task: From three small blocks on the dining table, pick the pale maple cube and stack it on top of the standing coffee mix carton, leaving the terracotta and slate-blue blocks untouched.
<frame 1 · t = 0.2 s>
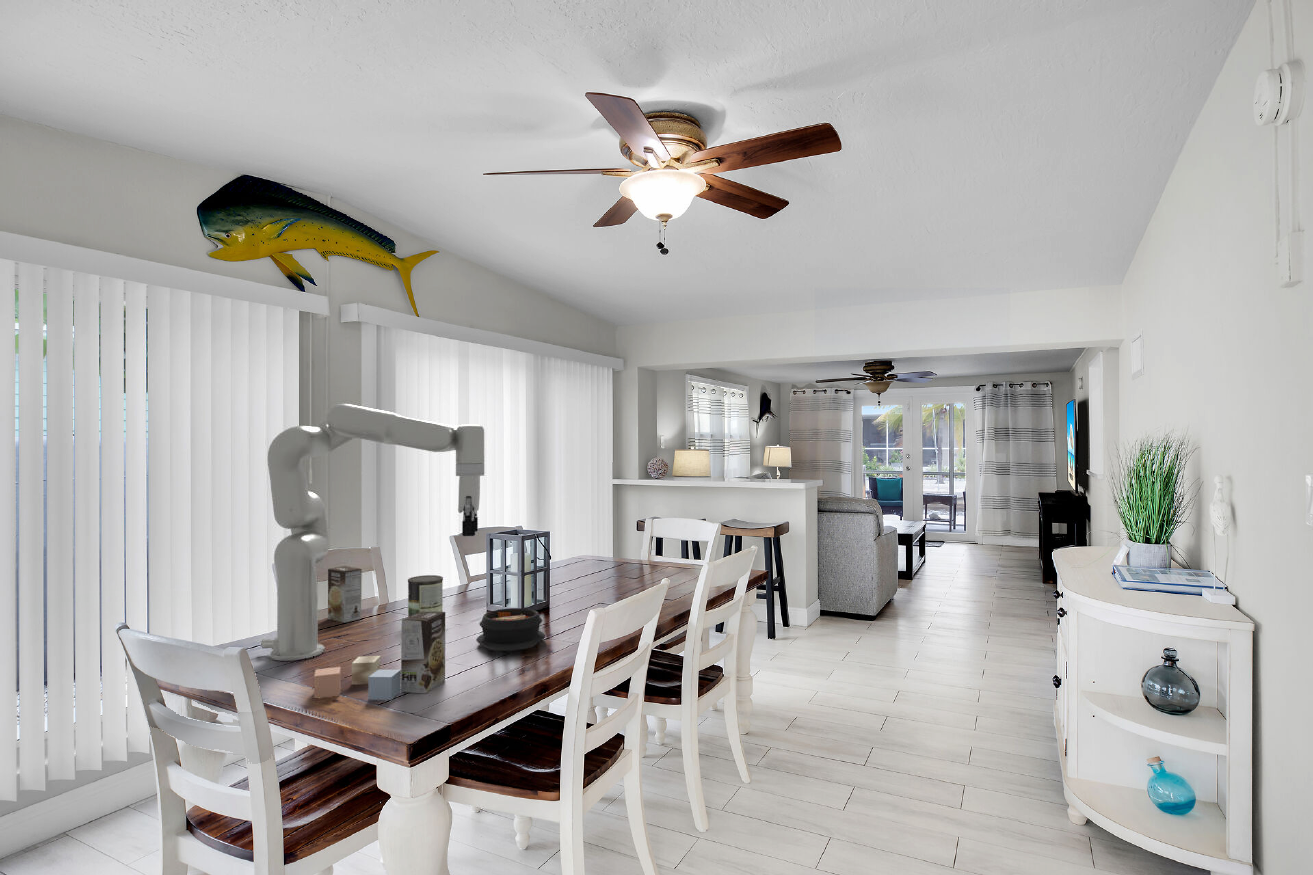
hand: (470, 533, 190), 31 cm above the table, tool pointing down, fingers open, 9 cm apart
slate block: (384, 696, 154), on the table
casserole: (511, 645, 193), on the table
coffee box: (423, 687, 160), on the table
coffee box 2: (344, 619, 223), on the table
coffee can: (425, 624, 216), on the table
maple cube: (366, 680, 164), on the table
terracotta block: (327, 694, 155), on the table
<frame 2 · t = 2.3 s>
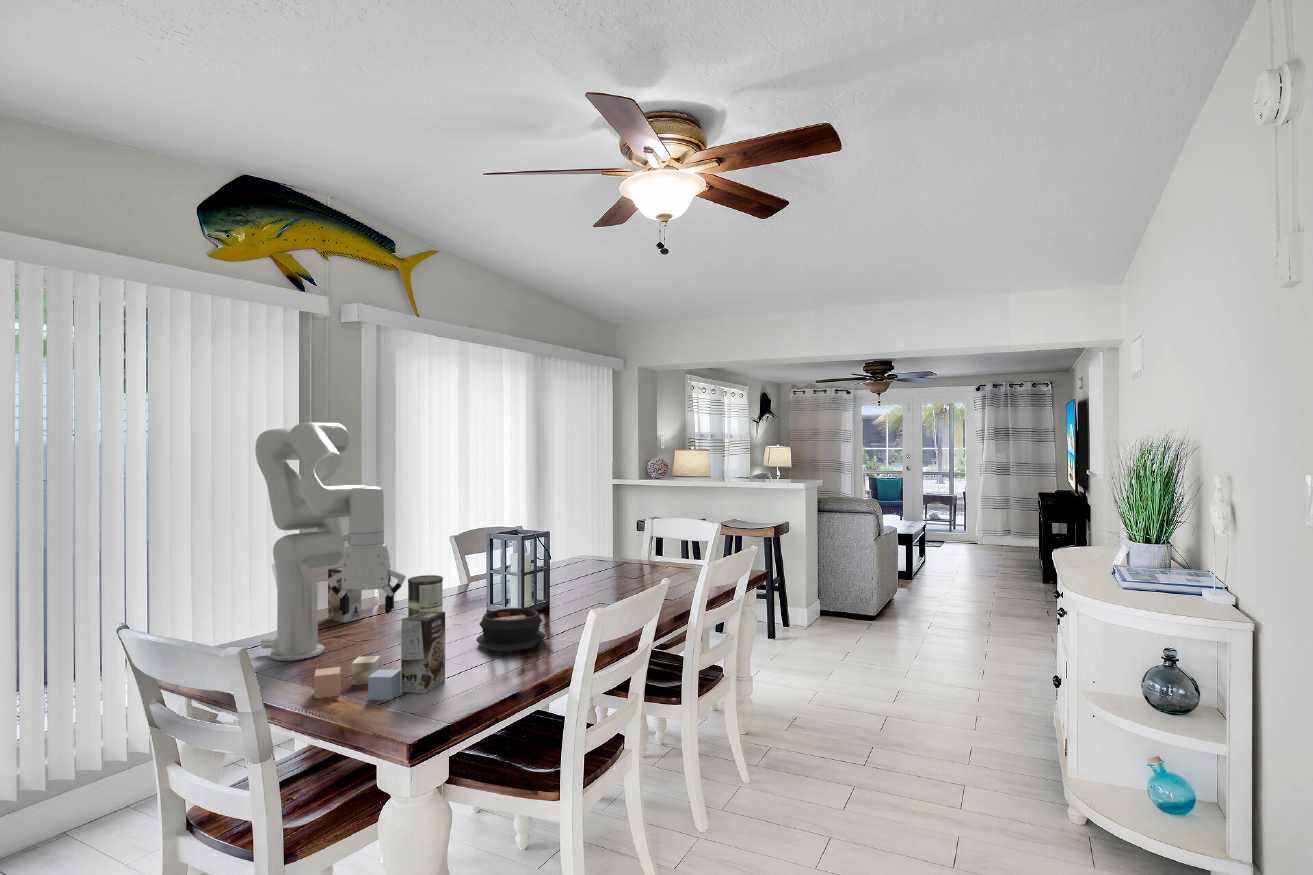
hand: (367, 613, 164), 16 cm above the table, tool pointing down, fingers open, 9 cm apart
nothing on the table moved.
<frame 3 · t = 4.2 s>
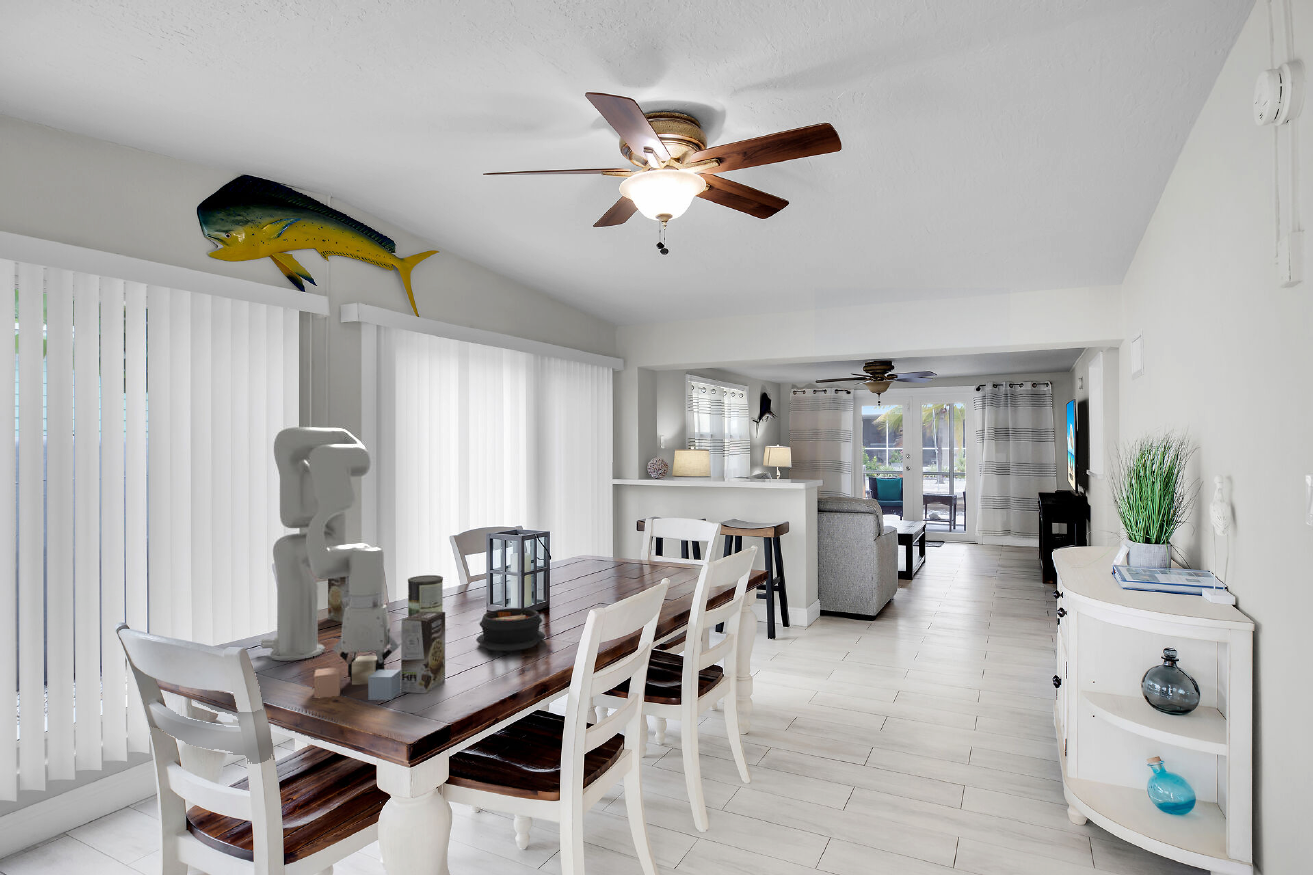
hand: (366, 678, 164), 0 cm above the table, tool pointing down, fingers closed on maple cube, 5 cm apart
maple cube: (366, 680, 164), on the table, touching gripper
everything else where it was.
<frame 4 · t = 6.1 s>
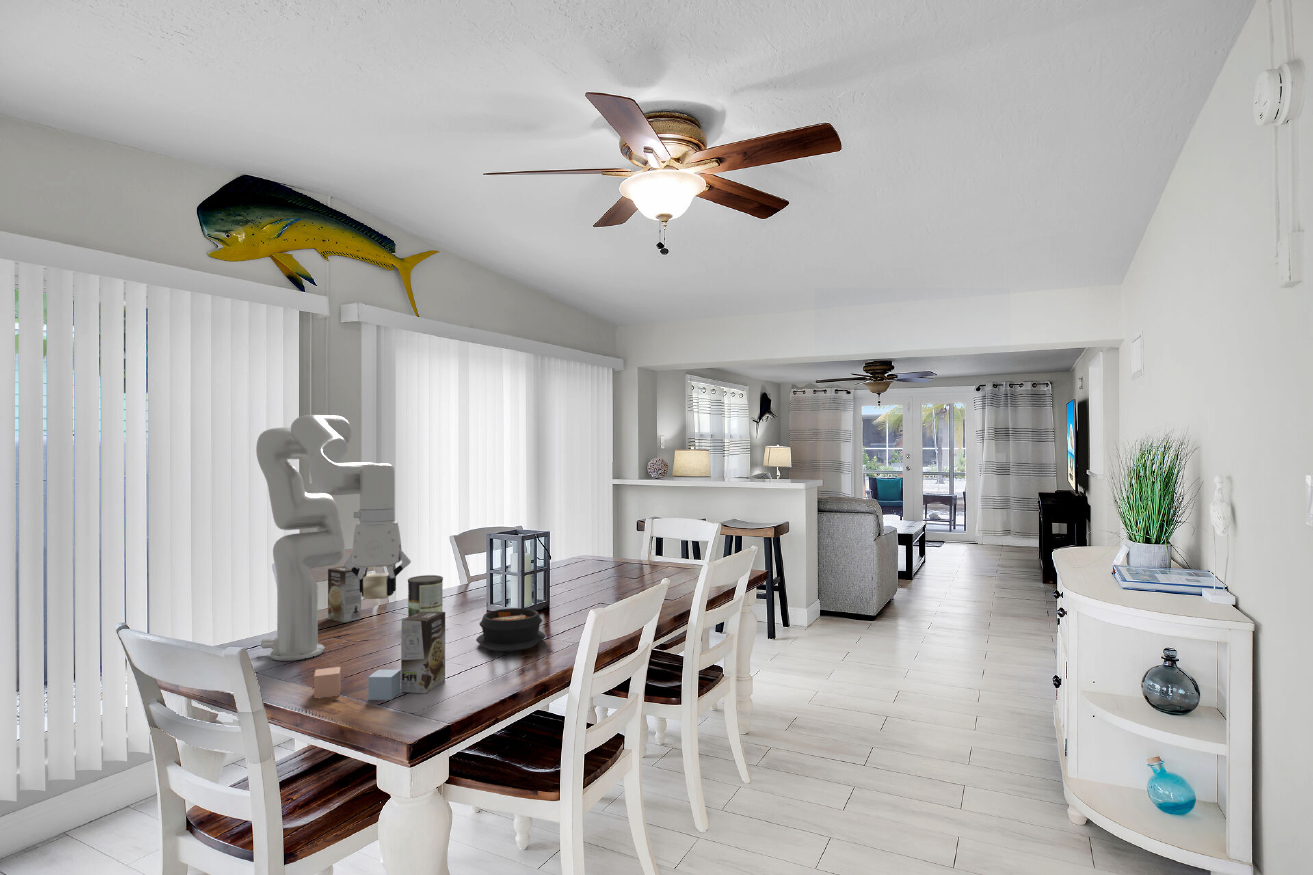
hand: (377, 594, 163), 20 cm above the table, tool pointing down, fingers closed on maple cube, 5 cm apart
maple cube: (377, 596, 163), point 20 cm above the table, touching gripper
everything else where it was.
when the fingers open (17 cm above the table, at t = 7.8 s): maple cube stays where it is, resting on coffee box.
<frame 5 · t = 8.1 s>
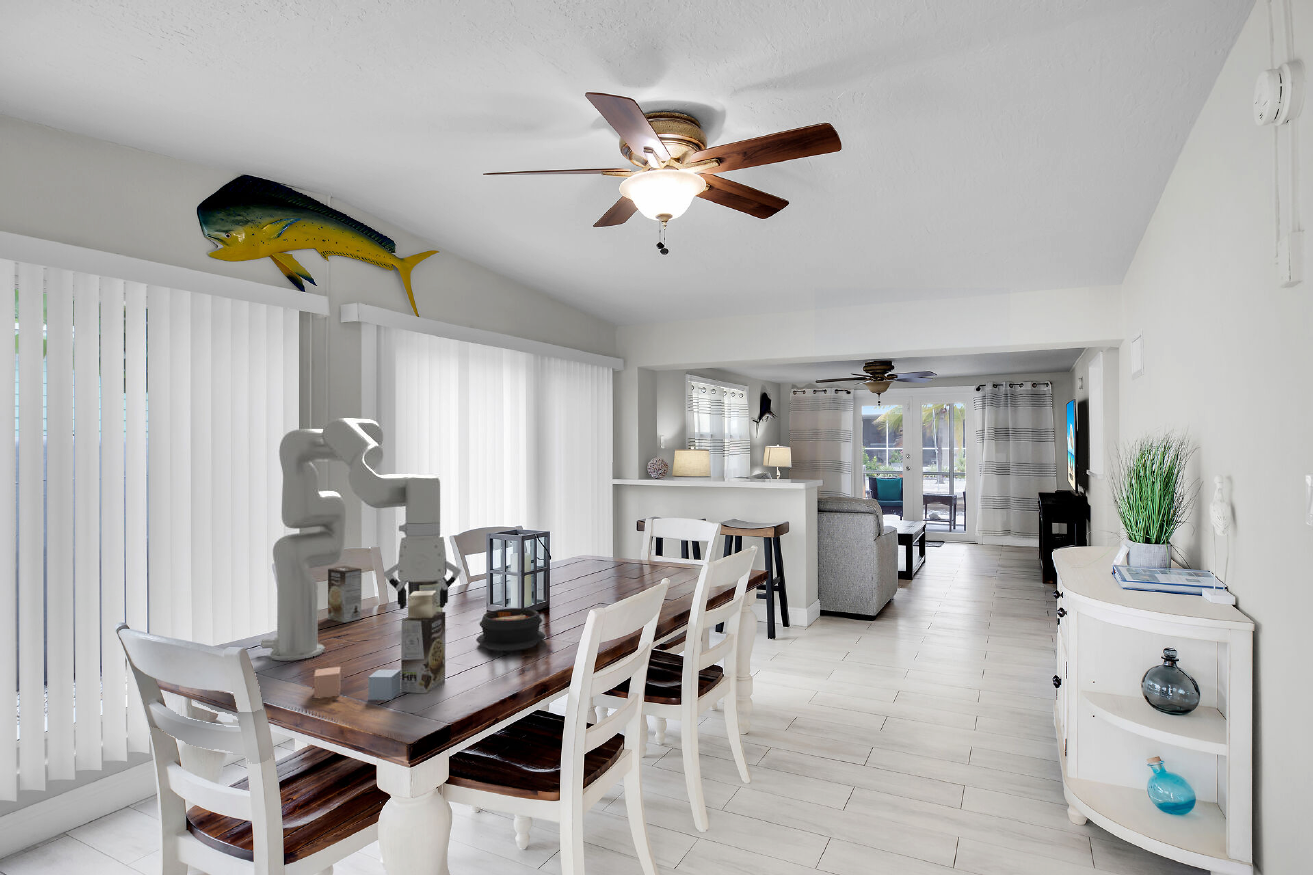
hand: (423, 606, 160), 18 cm above the table, tool pointing down, fingers open, 8 cm apart
coffee box: (423, 687, 160), on the table, touching maple cube
maple cube: (422, 615, 160), point 16 cm above the table, touching coffee box
everything else where it was.
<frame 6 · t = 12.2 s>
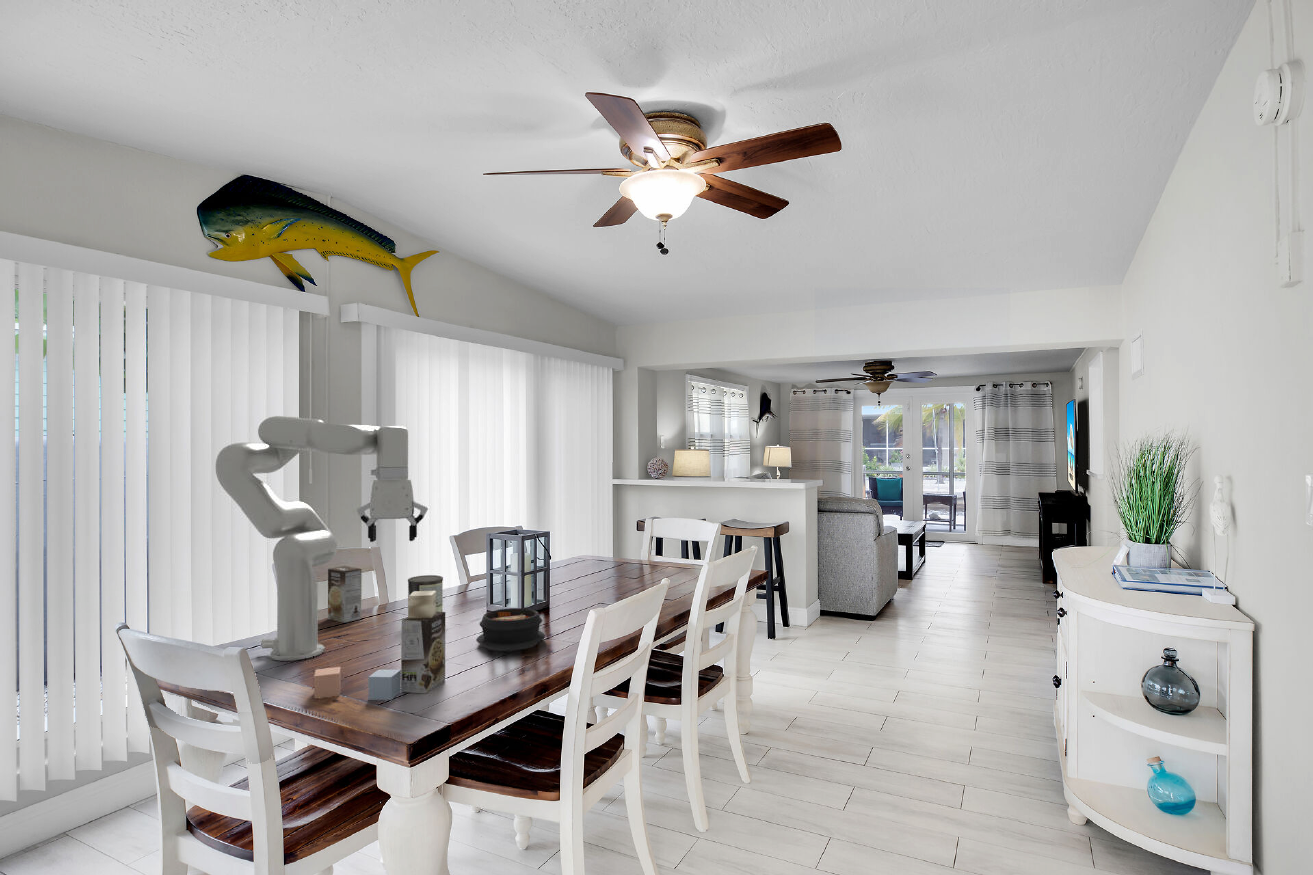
hand: (392, 540, 180), 30 cm above the table, tool pointing down, fingers open, 9 cm apart
nothing on the table moved.
at the end: maple cube 0.3 cm from the coffee box (horizontally); maple cube point 16.1 cm above the table; coffee box tilted 0° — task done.
